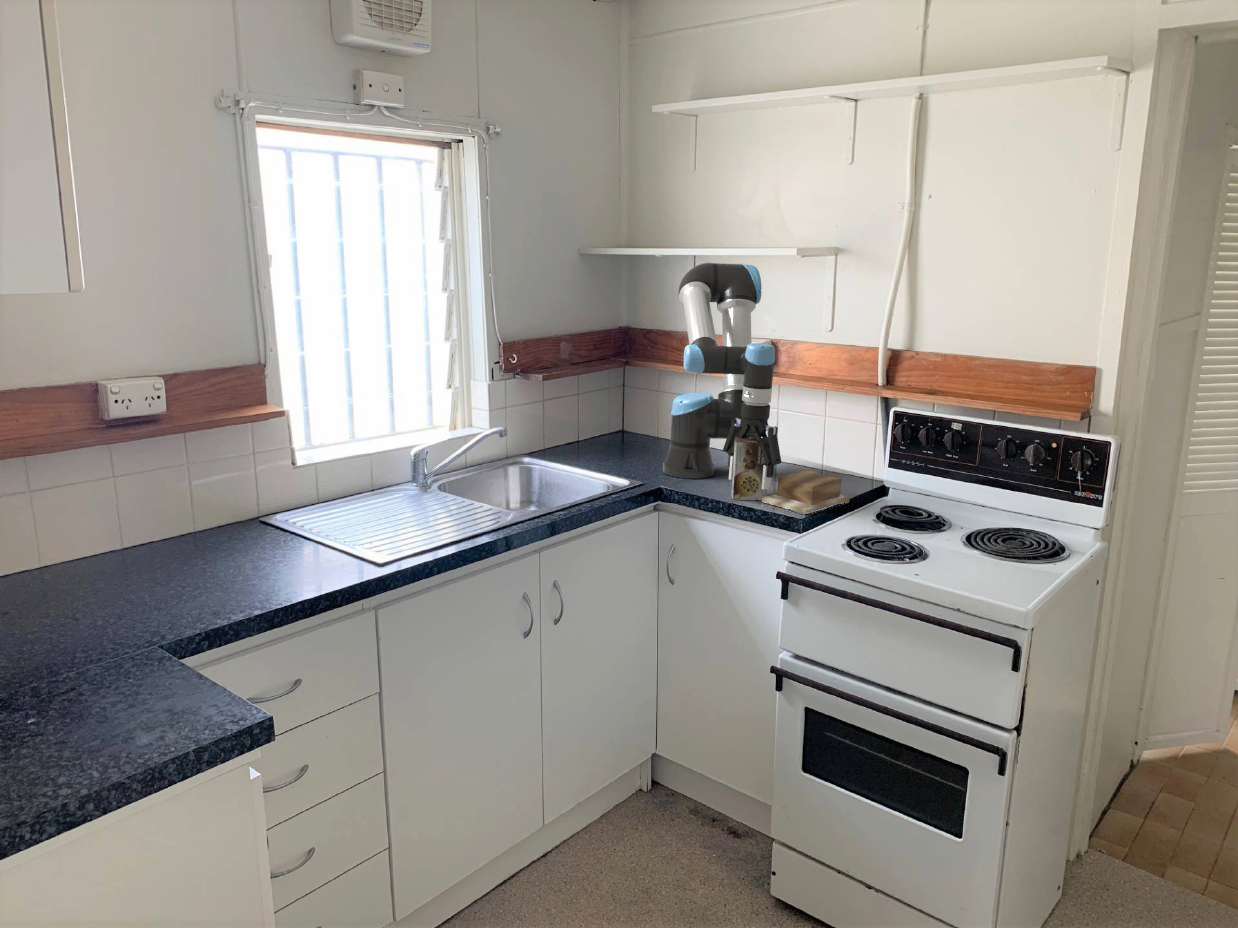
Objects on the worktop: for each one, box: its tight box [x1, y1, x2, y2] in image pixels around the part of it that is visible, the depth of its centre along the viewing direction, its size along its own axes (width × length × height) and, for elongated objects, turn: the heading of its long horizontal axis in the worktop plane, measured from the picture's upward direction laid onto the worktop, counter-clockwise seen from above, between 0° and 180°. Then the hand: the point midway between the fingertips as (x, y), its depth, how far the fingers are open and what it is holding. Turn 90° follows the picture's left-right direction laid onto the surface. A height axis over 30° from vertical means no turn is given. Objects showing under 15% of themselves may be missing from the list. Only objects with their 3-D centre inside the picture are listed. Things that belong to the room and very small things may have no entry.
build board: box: [761, 492, 851, 513], centre depth 245 cm, size 14×20×2 cm
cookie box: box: [730, 437, 769, 502], centre depth 246 cm, size 9×6×16 cm
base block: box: [776, 469, 842, 505], centre depth 245 cm, size 11×13×5 cm
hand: (749, 483), depth 247 cm, fingers open, 11 cm apart
